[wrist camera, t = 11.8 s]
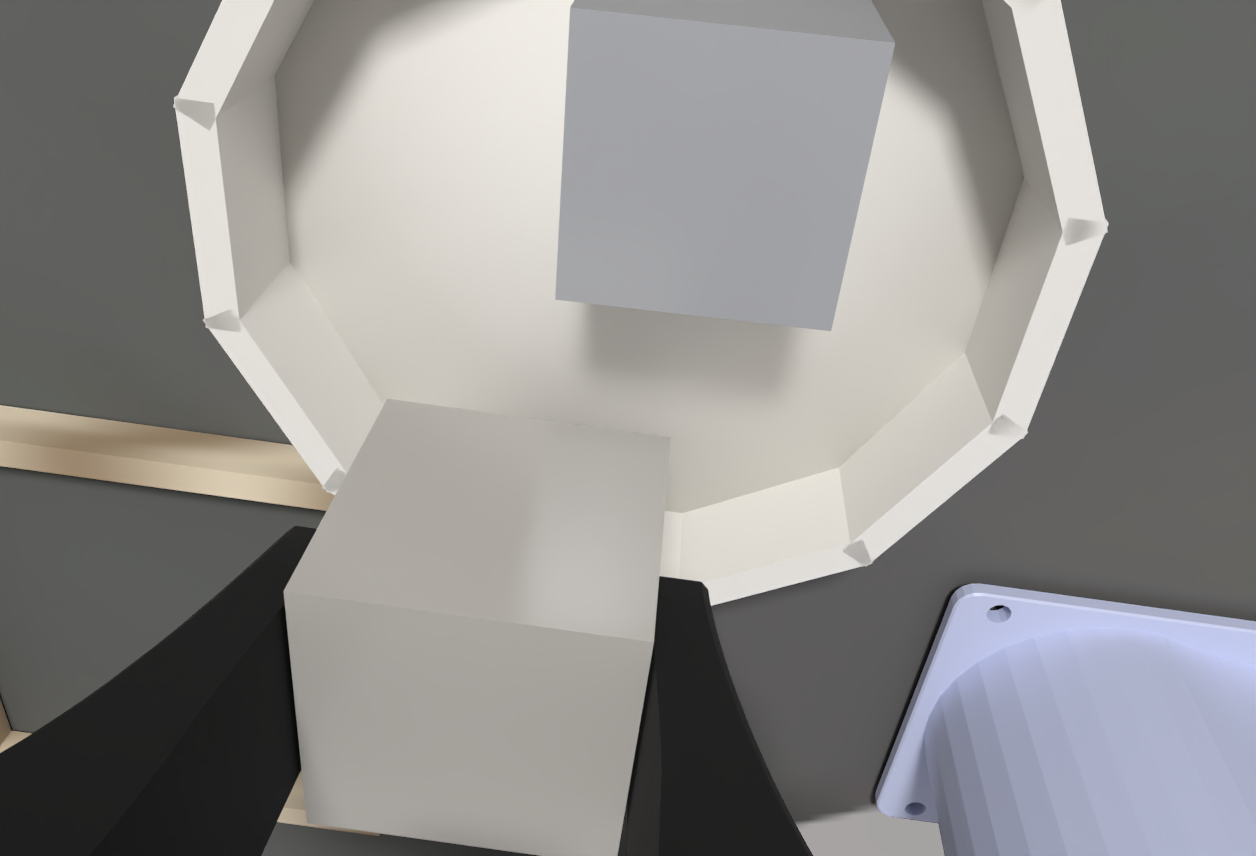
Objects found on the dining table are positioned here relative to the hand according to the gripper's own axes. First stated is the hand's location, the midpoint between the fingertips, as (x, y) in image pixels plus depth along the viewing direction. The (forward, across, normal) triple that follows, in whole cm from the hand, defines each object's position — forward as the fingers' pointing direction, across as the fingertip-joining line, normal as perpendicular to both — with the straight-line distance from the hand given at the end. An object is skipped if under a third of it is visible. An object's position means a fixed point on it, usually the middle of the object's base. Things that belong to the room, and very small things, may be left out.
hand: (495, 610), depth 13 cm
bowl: (+8, -1, -2) cm, 9 cm away
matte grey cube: (+8, -2, -5) cm, 9 cm away
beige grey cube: (+2, 0, 0) cm, 2 cm away
